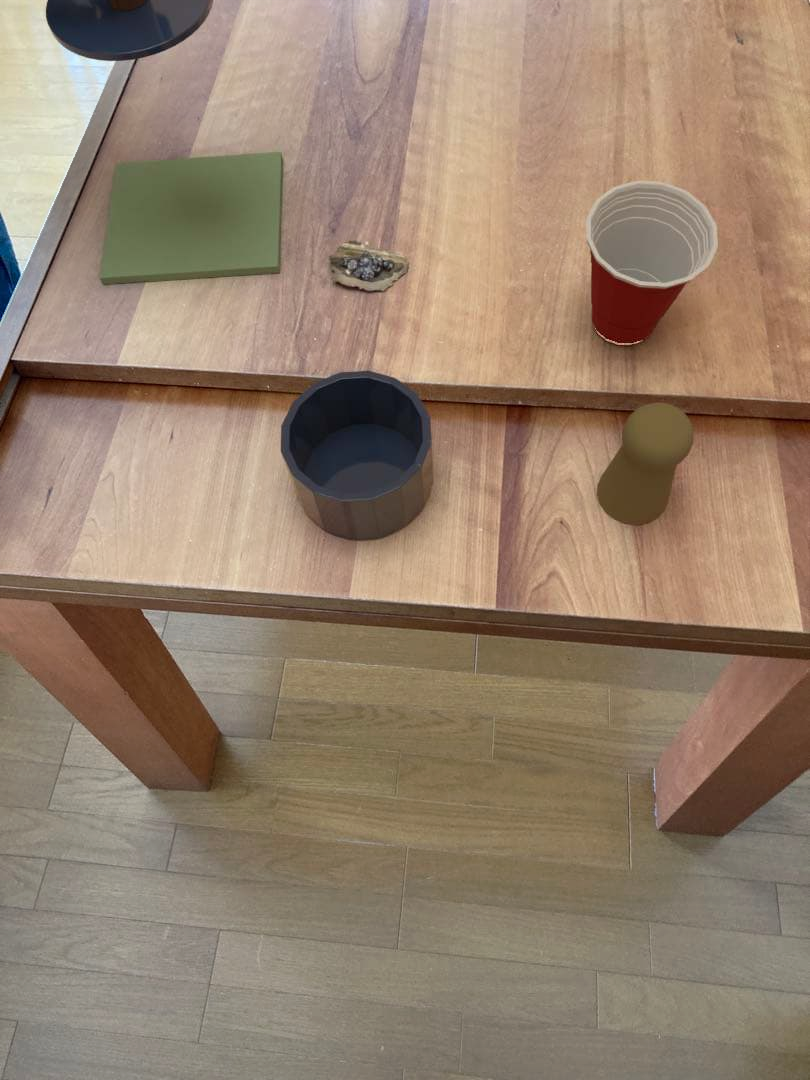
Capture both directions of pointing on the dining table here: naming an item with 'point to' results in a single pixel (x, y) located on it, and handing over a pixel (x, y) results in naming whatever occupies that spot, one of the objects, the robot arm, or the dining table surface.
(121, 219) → the mat
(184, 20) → the lid
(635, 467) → the pepper shaker
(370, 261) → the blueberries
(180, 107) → the dining table surface
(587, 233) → the plastic cup
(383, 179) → the dining table surface
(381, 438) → the pot
